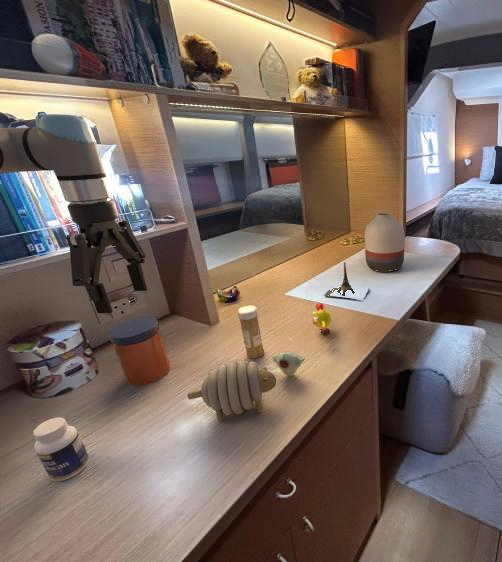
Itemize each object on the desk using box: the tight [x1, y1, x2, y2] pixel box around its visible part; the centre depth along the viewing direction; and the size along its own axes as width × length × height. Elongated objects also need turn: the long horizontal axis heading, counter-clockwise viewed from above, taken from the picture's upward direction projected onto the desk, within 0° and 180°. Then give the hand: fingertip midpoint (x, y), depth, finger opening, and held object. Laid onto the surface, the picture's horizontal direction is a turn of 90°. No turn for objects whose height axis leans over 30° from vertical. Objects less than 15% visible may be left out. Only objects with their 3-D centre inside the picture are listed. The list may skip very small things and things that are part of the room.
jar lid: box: [108, 316, 160, 345], centre depth 79 cm, size 10×10×2 cm
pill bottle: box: [32, 416, 90, 482], centre depth 57 cm, size 5×5×10 cm
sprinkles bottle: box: [237, 305, 265, 359], centre depth 88 cm, size 5×4×13 cm
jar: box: [112, 329, 171, 386], centre depth 81 cm, size 9×9×13 cm
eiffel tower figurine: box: [323, 259, 355, 297], centre depth 122 cm, size 15×10×13 cm
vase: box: [364, 212, 406, 272], centre depth 145 cm, size 17×17×24 cm
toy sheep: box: [187, 360, 277, 423], centre depth 69 cm, size 11×17×11 cm, turn 112°
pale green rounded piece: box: [272, 351, 306, 376], centre depth 80 cm, size 8×4×7 cm, turn 78°
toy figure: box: [311, 302, 332, 337], centre depth 99 cm, size 18×6×7 cm, turn 14°
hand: (124, 300), depth 76 cm, fingers open, 11 cm apart
